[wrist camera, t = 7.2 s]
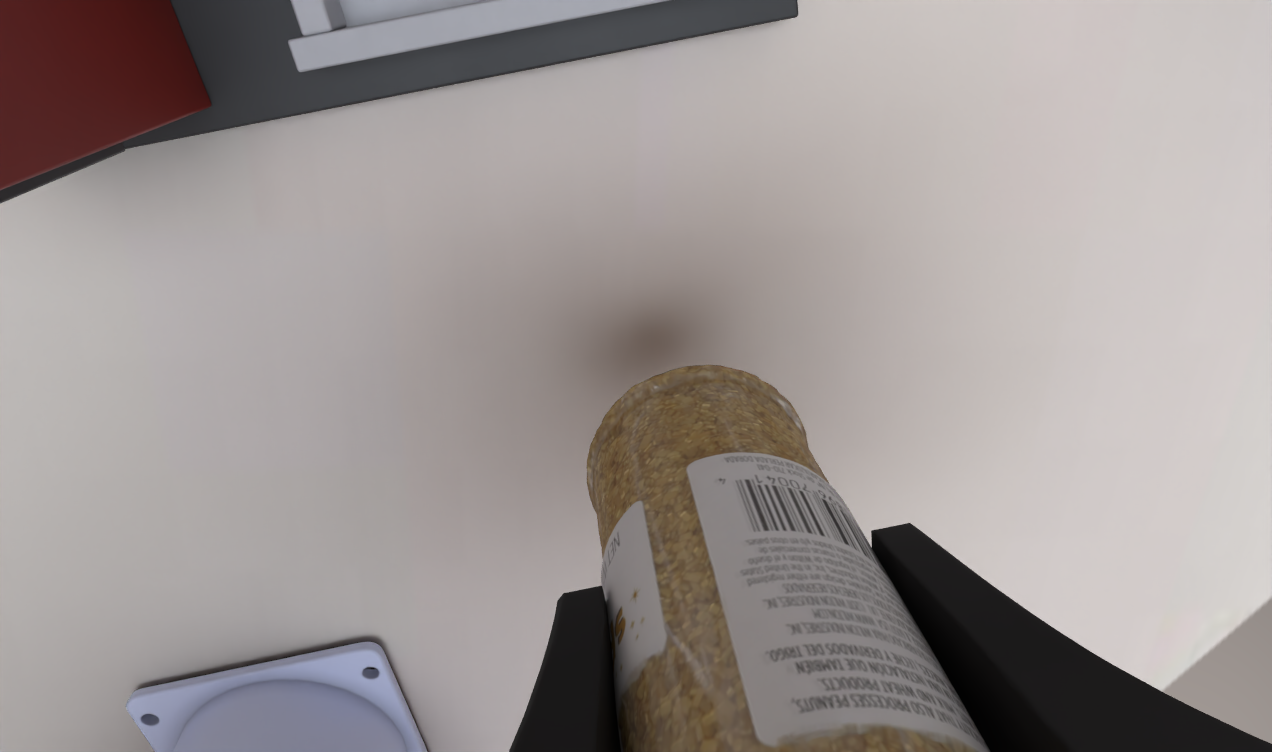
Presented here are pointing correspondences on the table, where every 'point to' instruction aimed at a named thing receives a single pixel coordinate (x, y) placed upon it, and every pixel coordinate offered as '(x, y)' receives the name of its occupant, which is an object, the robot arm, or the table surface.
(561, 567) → the table surface
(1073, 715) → the robot arm
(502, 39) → the coffee maker
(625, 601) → the sprinkles bottle
